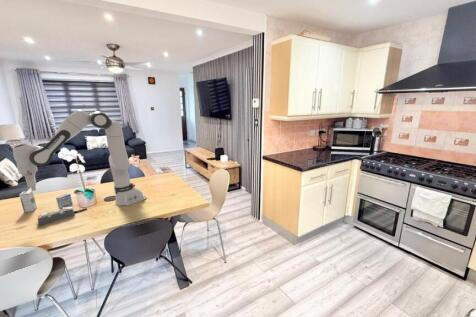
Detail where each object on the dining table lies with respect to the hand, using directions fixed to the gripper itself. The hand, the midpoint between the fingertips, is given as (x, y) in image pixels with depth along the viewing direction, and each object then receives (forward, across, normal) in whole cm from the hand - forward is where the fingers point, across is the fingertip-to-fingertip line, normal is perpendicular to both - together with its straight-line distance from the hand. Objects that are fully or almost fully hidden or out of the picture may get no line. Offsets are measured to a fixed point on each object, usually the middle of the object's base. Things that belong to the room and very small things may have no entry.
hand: (34, 189), depth 143 cm
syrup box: (+23, +28, +6) cm, 37 cm away
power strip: (+23, 0, -11) cm, 26 cm away
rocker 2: (+18, -1, -7) cm, 20 cm away
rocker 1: (+18, -1, -1) cm, 18 cm away
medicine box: (+24, +18, -14) cm, 33 cm away
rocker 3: (+19, -1, -14) cm, 23 cm away
